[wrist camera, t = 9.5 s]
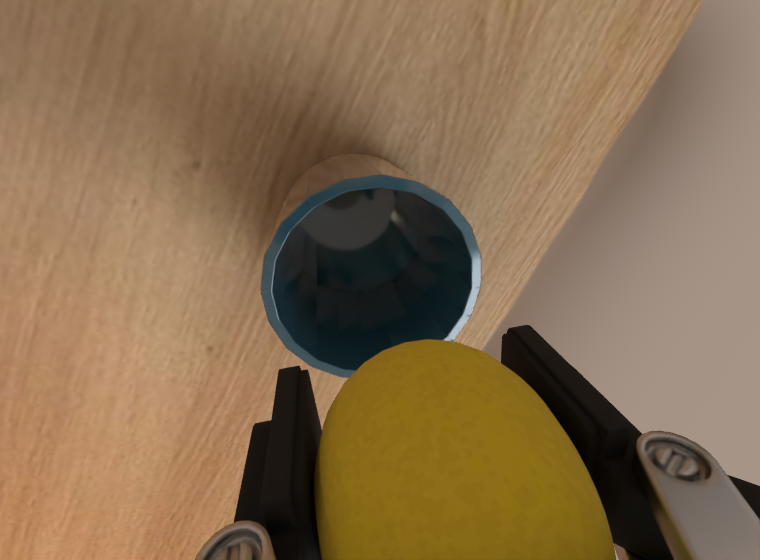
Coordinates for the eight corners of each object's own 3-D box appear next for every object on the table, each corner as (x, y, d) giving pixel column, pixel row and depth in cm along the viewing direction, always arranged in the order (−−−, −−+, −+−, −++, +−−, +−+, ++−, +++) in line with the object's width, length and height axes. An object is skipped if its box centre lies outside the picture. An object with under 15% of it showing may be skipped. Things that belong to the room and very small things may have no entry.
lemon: (506, 388, 13) (760, 746, 6) (363, 457, 13) (425, 887, 6) (452, 255, 10) (770, 575, 3) (278, 343, 11) (201, 828, 3)
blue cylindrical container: (265, 163, 23) (234, 193, 14) (420, 144, 24) (482, 161, 15) (296, 303, 27) (287, 395, 18) (427, 282, 28) (480, 359, 19)
